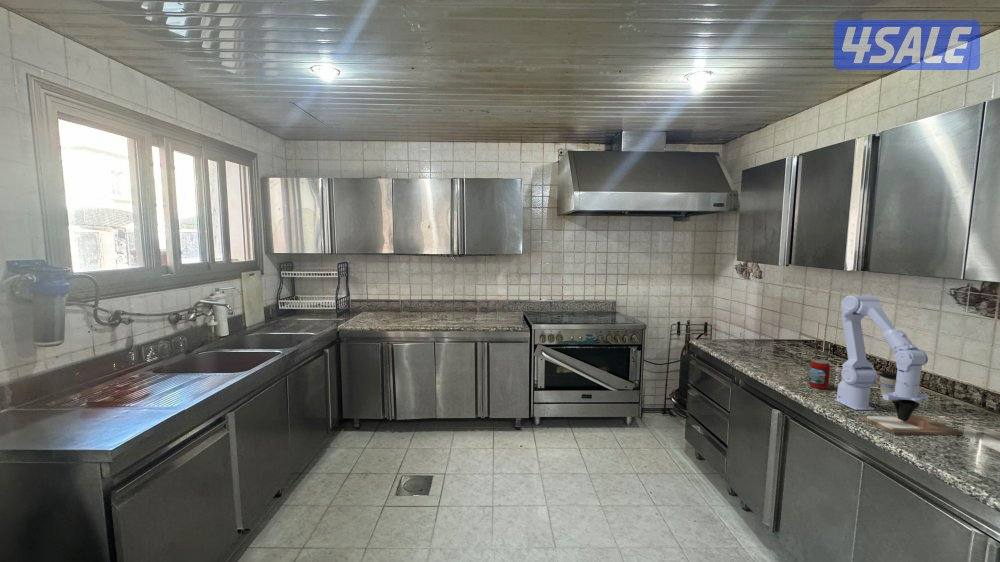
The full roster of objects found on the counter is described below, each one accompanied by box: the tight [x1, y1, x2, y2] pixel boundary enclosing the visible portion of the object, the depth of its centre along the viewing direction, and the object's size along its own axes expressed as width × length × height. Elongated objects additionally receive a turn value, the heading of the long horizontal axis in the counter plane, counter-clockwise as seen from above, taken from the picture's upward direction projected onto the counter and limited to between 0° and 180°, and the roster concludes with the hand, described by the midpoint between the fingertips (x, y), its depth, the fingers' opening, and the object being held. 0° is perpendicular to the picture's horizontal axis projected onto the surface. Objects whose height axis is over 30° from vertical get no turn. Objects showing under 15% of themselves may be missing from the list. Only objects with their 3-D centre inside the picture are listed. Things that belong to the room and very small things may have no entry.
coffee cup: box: [879, 371, 897, 397], centre depth 165 cm, size 7×7×10 cm
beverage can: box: [808, 359, 831, 390], centre depth 175 cm, size 7×7×12 cm
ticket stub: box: [895, 413, 940, 430], centre depth 138 cm, size 9×6×3 cm, turn 2°
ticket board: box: [859, 415, 963, 436], centre depth 138 cm, size 12×24×2 cm, turn 92°
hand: (902, 419), depth 138 cm, fingers closed
